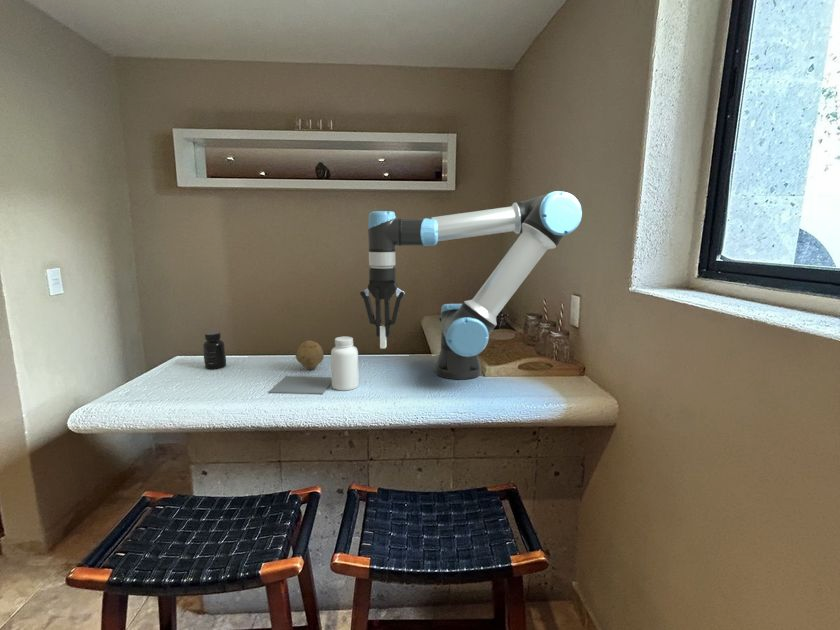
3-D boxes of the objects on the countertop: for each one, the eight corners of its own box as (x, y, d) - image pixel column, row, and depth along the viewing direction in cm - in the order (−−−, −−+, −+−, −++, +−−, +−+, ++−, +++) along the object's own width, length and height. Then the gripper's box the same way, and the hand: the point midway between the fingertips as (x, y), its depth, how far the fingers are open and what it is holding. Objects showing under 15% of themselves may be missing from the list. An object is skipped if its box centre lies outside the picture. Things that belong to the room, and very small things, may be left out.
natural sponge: (290, 371, 150) (289, 342, 148) (305, 364, 158) (304, 336, 156) (314, 374, 147) (313, 344, 145) (328, 366, 155) (327, 338, 153)
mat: (335, 378, 143) (335, 377, 143) (322, 394, 129) (322, 393, 129) (285, 377, 144) (285, 376, 144) (268, 393, 130) (268, 391, 130)
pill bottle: (338, 393, 130) (336, 342, 127) (327, 385, 137) (326, 337, 134) (363, 387, 134) (362, 339, 132) (351, 380, 141) (350, 333, 138)
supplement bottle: (210, 363, 158) (207, 330, 156) (230, 364, 158) (227, 330, 156) (200, 369, 151) (197, 335, 149) (220, 370, 151) (217, 335, 149)
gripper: (406, 266, 131) (406, 344, 136) (362, 265, 132) (363, 343, 136) (403, 268, 124) (404, 351, 128) (356, 267, 125) (358, 350, 129)
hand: (383, 347), depth 132 cm, fingers closed
